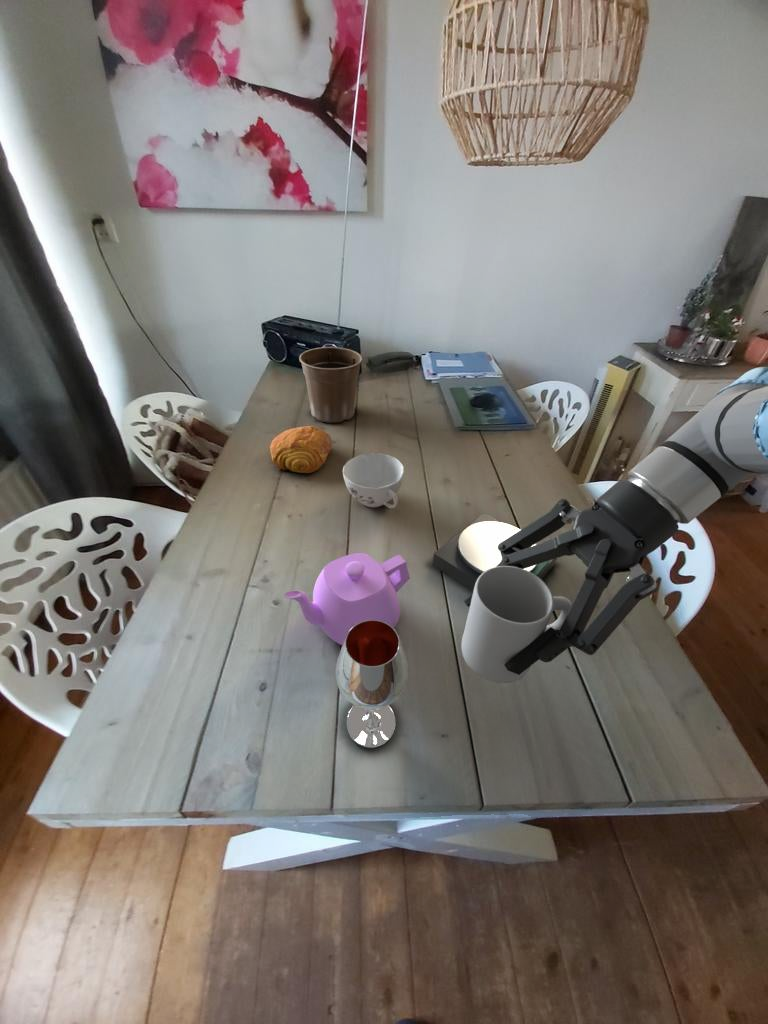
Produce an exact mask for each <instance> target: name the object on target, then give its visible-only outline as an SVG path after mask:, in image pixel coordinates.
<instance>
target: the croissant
mask: <svg viewBox="0 0 768 1024" xmlns="http://www.w3.org/2000/svg"><path fill="white" fill-rule="evenodd" d="M331 438H332V437H331V436H330V434H329V433H328V432H326V431H324V430H323V429H320V428H318V427H316V426H313V425H305V426H299V427H293V428H290V429H287V430H284V431H283V432H281V433H279V434H278V435H277V436H275V437H274V438H273V439H272V440H271V442H270V446H269V450H270V452H269V453H270V455H271V456H270V457H271V461H272V463H274V465H275V466H276V467H277V468H278V469H282V470H283V471H288V470H289V471H291V472H294V473H301V474H310V473H314V472H316V471H318V470H319V469H320V468H321V467H322V466H323V465H324V464H325V463H326V460H327V458H328V456H329V453H330V452H331V450H332V439H331Z"/></svg>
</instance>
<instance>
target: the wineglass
mask: <svg viewBox="0 0 768 1024" xmlns="http://www.w3.org/2000/svg"><path fill="white" fill-rule="evenodd" d="M334 672H335V682H336V684H337V687H338V690H339V691H340V693H341V695H342V696H343V697H344V698H345V700H346V701H347V702H349V703H350V704H352V707H351V709H350V710H349V711H348V714H347V717H346V729H347V732H348V734H349V737H350V738H351V740H353V741H354V742H355V743H356V744H357V745H359V746H360V747H363V748H369V749H373V748H375V749H376V748H378V747H381V746H383V745H385V744H386V743H388V742H389V741H390V739H391V738H392V737H393V735H394V732H395V729H396V725H397V724H396V723H397V722H396V716H395V713H394V711H393V709H392V708H391V707H390V705H392V704H393V703H395V702H396V701H397V700H398V699H399V698H400V697H401V695H402V694H403V692H404V690H405V688H406V686H407V683H408V679H409V664H408V659H407V656H406V653H405V650H404V647H403V645H402V641H401V639H400V637H399V635H398V633H397V631H396V630H395V628H392V627H391V626H390V625H389V624H387V623H385V622H382V621H378V620H366V621H363V622H360V623H358V624H356V625H355V626H354V627H352V628H351V629H350V631H349V632H348V634H347V636H346V638H345V641H344V643H343V645H341V648H340V651H339V653H338V656H337V659H336V663H335V671H334Z"/></svg>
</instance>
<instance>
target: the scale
mask: <svg viewBox="0 0 768 1024" xmlns="http://www.w3.org/2000/svg"><path fill="white" fill-rule="evenodd" d="M485 521H495V522H501V521H500V520H498V519H496V518H494V517H492V516H491V515H488V514H487V513H484V512H483V513H482V514H480V515H479V516H478V517H477V518H476V519H474V520H473V521H471V523H470V524H468V525H467V526H466V527H464V528H463V529H462V530H461V531H460V532H458V533H457V534H456V535H455V536H454V537H452V538H451V539H450V540H448V541H447V542H446V543H445V544H443V545H442V546H441V547H440V548H438V549H437V550H436V551H435V552H434V553H433V557H432V567H434V568H436V569H438V570H439V571H440V572H442V573H444V574H445V575H447V576H448V577H450V578H451V579H453V580H454V581H456V582H458V583H459V584H461V585H462V586H463V587H465V588H467V589H468V590H469V591H471V592H473V591H474V587H475V584H476V581H477V579H478V578H479V576H480V575H481V574H480V573H478V572H477V571H475V570H473V569H472V568H471V567H470V566H468V565H467V564H466V563H465V562H464V560H463V559H462V557H461V555H460V553H459V550H458V541H459V537H460V535H461V533H462V532H463V531H464V530H465V529H466V528H467V527H469V526H471V525H473V524H475V523H479V522H485ZM540 543H541V542H540V541H539V542H537V543H536V545H537V544H540ZM557 559H558V558H555V559H552V560H549V561H546V562H543V563H540V564H537V566H536V568H535V569H534V570H533V571H532V572H531V573H533V574H535V575H536V576H537V577H539V578H540V579H541V580H543V579H544V577H545V576H546V575H547V574H548V573H549V572H550V571H551V570H552V568H553V567H554V566H555V564H556V563H557Z"/></svg>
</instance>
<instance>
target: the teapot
mask: <svg viewBox="0 0 768 1024" xmlns="http://www.w3.org/2000/svg"><path fill="white" fill-rule="evenodd" d="M410 579H411V577H410V573H409V569H408V565H407V561H406V560H405V559H404V558H403V557H402V556H401V555H400V553H398V554H397V555H394V556H393V557H391V558H389V559H387V560H385V561H383V562H381V563H379V562H378V561H376V559H375V558H373V557H372V556H370V555H369V554H367V553H363V552H355V553H349V554H347V555H344V556H341V557H339V558H336V559H333V560H332V561H331V562H328V563H327V564H326V565H325V566H324V567H323V568H322V570H321V571H320V573H319V575H318V577H317V579H316V581H315V584H314V586H313V587H314V588H313V591H312V602H311V601H310V598H309V595H308V594H307V593H306V592H304V591H301V590H290V591H287V592H285V593H284V595H283V597H285V598H286V599H290V600H294V601H297V602H298V604H299V606H300V610H301V613H302V616H303V617H304V618H305V620H306V621H307V622H308V623H310V624H311V625H314V626H318V627H320V629H321V630H322V631H323V633H324V634H326V636H328V637H329V638H330V639H331V640H332V641H334V642H335V643H336V644H338V645H341V646H342V645H343V643H344V641H345V638H346V636H347V634H348V632H349V631H350V629H351V628H352V627H354V626H355V625H356V624H358V623H360V622H363V621H366V620H378V621H382V622H385V623H387V624H389V625H390V626H391V627H392V628H393V629H395V627H396V625H397V624H398V623H399V620H400V613H401V609H400V601H399V597H398V594H397V593H398V592H399V591H400V589H402V587H404V586H405V584H406V583H407V582H408V581H409V580H410Z"/></svg>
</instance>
